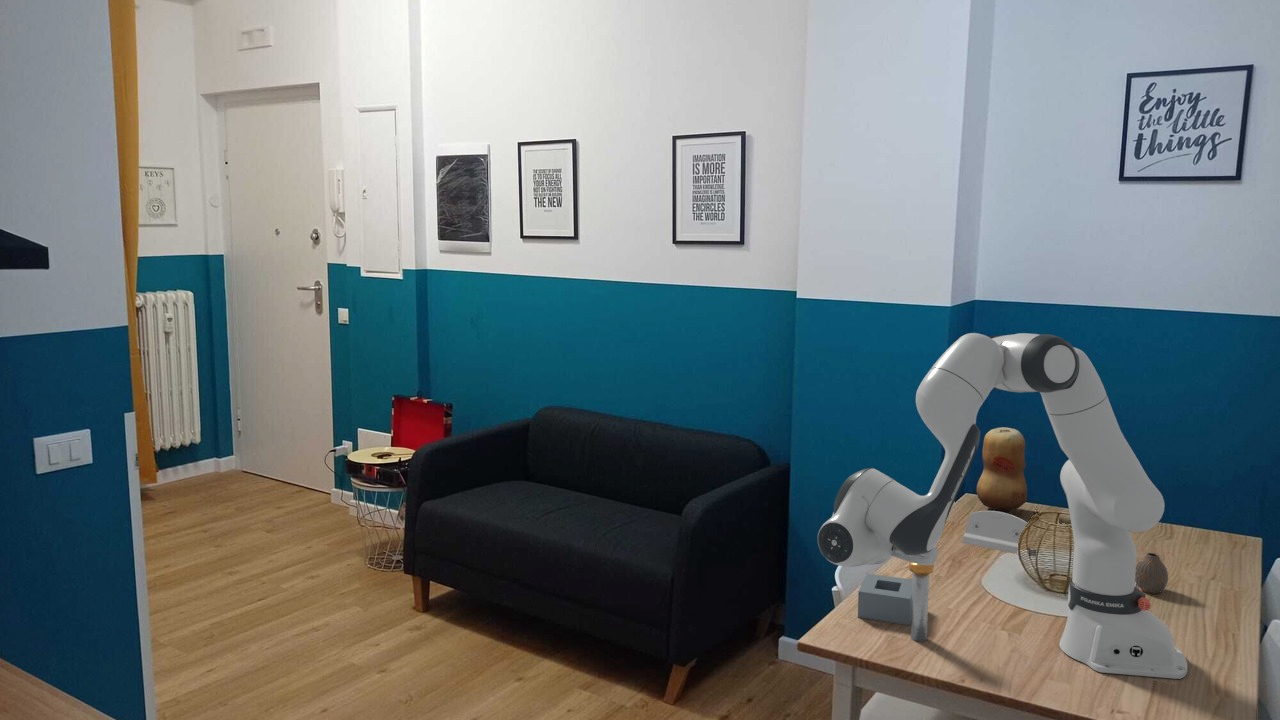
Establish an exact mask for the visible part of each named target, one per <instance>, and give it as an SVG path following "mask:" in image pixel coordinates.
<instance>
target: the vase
mask: <svg viewBox="0 0 1280 720" xmlns="http://www.w3.org/2000/svg"><path fill="white" fill-rule="evenodd" d="M1168 581H1169V571H1168V568H1167V566H1166V565H1165V564H1164V562H1163V561H1162V560H1161V558H1160V556H1159V554H1157V553H1155V552H1148V553H1146V554H1145V556H1144V557H1143V558H1141V560H1140V561H1138V563H1136V573H1135V584H1136V585H1135V586H1137V588H1139V587H1140V588H1141V590H1142V592H1143V593H1147V594H1153V595H1155V594H1159V593H1161V592H1163V591H1164V590H1165V588H1167V586H1168Z"/></svg>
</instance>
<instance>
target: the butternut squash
mask: <svg viewBox="0 0 1280 720" xmlns="http://www.w3.org/2000/svg"><path fill="white" fill-rule="evenodd" d="M1025 449H1026V440H1025V438H1024V435H1023V434H1022V433H1021V432H1020V431H1019V430H1018V429H1015V428H1011V427H1006V426H1005V427H1003V426H1002V427H996V428H993V429H990V430H989V431H988V432H986V434H985V435H984V438H983V446H982V463H983V470H982V473H981V476H980V477H979V479H978V482H977V484H976V495H977V498H978V499H979V501H980V502H981V504H982V505H983V506H985V507H987V508H988V509H991V511H997V512H1003V513H1007V514H1008V512H1010V511H1013V510H1015V509H1016V510H1017V509H1019V508H1021V507H1022V506H1023V505H1024V504H1025V503H1027V501H1028V499H1027V498H1028V488H1027V487H1028V486H1027V483H1026V478H1025V475H1024V470H1025V468H1026V460H1025V457H1026V456H1025Z"/></svg>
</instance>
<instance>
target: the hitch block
mask: <svg viewBox="0 0 1280 720" xmlns="http://www.w3.org/2000/svg"><path fill="white" fill-rule="evenodd" d="M912 585H913V578H912V579H911V578H903V577H897V576H896V577H895V576H889V575H881V574H874V573H866V574H865V577H864V579H863V581H862V583H861V585H860V587H859V589H858V592H857V593H858V594H857V595H858V596H857V599H858V600H857V618H860V617H862V618H861V619H866V618H867V619H868V620H872V619H873V621H880V622H885V623H886V622H887V623H893V624H897V625H898V624H900V625H905V626H911V614H912Z"/></svg>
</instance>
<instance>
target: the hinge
mask: <svg viewBox="0 0 1280 720" xmlns="http://www.w3.org/2000/svg"><path fill="white" fill-rule="evenodd" d="M1028 523H1029V522H1028V521H1026V520H1024V519H1022V518H1021V517H1018V516H1016V515H1013V514H1009V513H1008V512H1007V513H1003V512H997V511H994V510H980V511H974V512H971V513H970V514H969V517H968V521H967V525H966V527H965V531H964V534H963V536H962V542H961V543H962V544H967V545H972V546H976V547H977V546H978V547H982V548H986V549H991V550H996V551H1000V552H1005V553H1009V554H1015V553H1016V555H1018V554H1017V549H1018V542H1019V538H1020V535H1021V533H1022V531H1023V530H1024V528H1025V526H1026V525H1027V524H1028Z"/></svg>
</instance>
